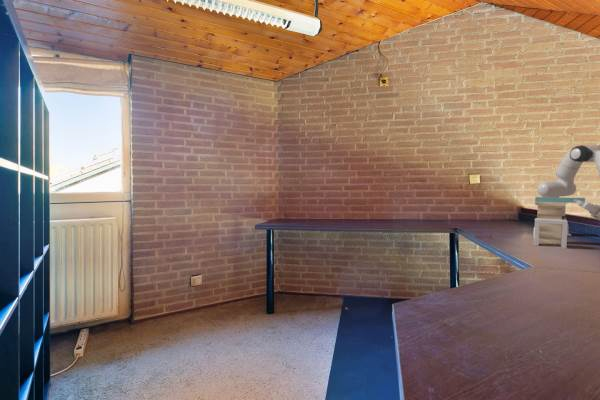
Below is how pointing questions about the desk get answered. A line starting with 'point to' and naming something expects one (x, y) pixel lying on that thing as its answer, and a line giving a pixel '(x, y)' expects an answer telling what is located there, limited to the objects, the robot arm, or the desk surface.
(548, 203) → the birch shelf
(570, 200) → the teal rectangular bar
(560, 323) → the desk surface
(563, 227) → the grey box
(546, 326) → the desk surface
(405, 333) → the desk surface
